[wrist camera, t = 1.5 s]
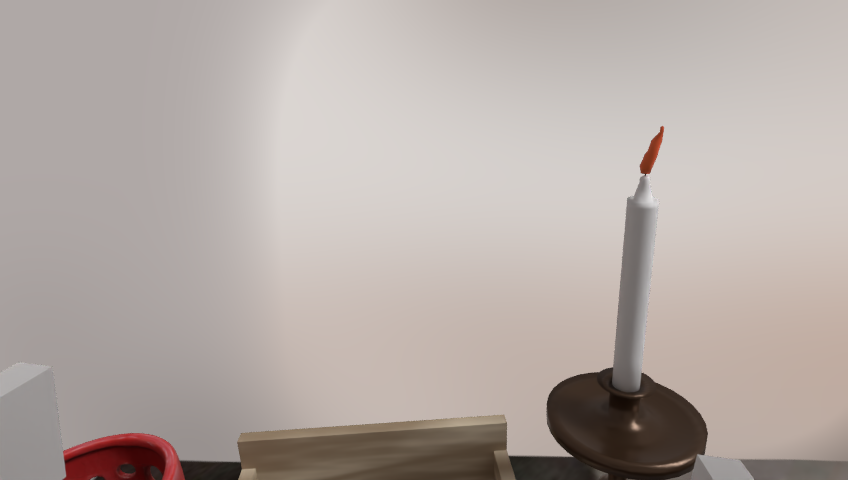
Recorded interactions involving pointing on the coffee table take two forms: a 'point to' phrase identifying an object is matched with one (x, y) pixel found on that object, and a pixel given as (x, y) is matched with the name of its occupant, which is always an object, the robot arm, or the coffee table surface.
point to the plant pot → (122, 458)
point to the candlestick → (629, 377)
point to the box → (381, 451)
